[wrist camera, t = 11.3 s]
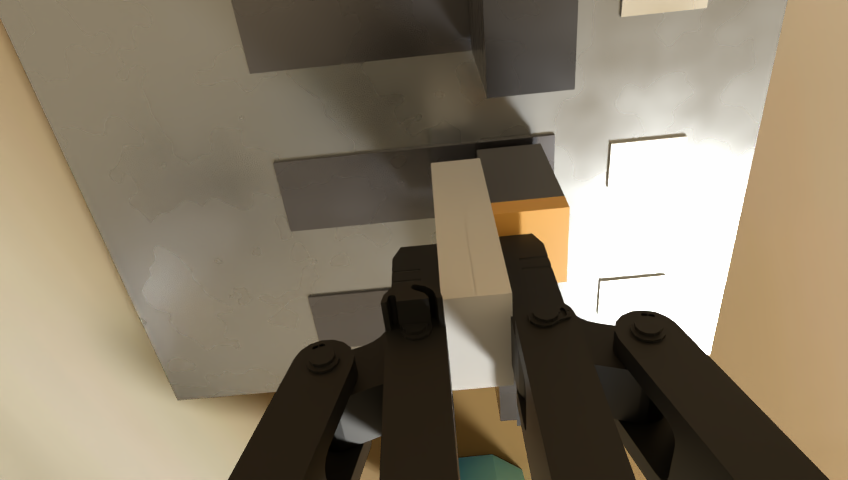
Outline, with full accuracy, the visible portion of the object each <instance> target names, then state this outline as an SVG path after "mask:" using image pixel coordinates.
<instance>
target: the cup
mask: <svg viewBox="0 0 848 480" xmlns="http://www.w3.org/2000/svg"><path fill="white" fill-rule="evenodd" d="M458 460H459V472H460V480H525V479H524V476H523V472H522V469H520V468H518V467H516V466H514V465H512V464H510V463H508V462H506V461H504V460H502V459H500V458H498V457H496V456H494V455H482V456H472V457H462V458H458Z"/></svg>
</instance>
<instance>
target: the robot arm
mask: <svg viewBox="0 0 848 480" xmlns="http://www.w3.org/2000/svg"><path fill="white" fill-rule="evenodd" d="M431 173H432V186H433V200H434V213H435V226H436V239H437V244H429V245H419V246H408V247H400V249H399V250H398V252H397V253H396V254H395V256H394V257H393V259H392V284H391V288H390V289H389V290H388V291H387V292H386V293H385V294H384V295H383V297H382V300H381V308H382V314H383V320H384V325H385V332H384V333H383V334H382V335H381V336H380V337H379V338H378V339H376V340H375V341H373V342H371V343H369V344H366V345H364V346H361V347H358V348H355V349H351V347H350V346H348V345H347V344H346V343H344V342H341V341H337V340H321V341H318V342H315V343H312V344H310V345H308V346H307V347H305V348H304V349H302V350H301V351H300V352H299V353H298V354H297V356H296V357H295V358H294V360H293V361H292V363H291V365H290V367H289V369H288V371H287V372H286V374H285V376H284V378H283V380H282V382H281V383H280V385H279V387H278V389H277V391H276V393H275V394H274V396H273V398H272V400H271V402H270V404H269V405H268V407H267V409H266V411H265V413H264V415H263V416H262V418H261V420H260V422H259V424H258V426H257V428H256V429H255V431H254V433H253V435H252V437H251V439H250V440H249V442H248V444H247V446H246V448H245V450H244V451H243V453H242V455H241V457H240V459H239V461H238V462H237V464H236V466H235V468H234V470H233V472H232V473H231V475H230V477H229V479H228V480H360V477H361V474H362V471H363V468H364V465H365V462H366V459H367V456H368V454H369V451H370V448H371V442H372V439H375V438H378V437H380V436H381V457H380V480H460V472H459V460H458V449H457V437H456V426H455V414H454V404H453V394H452V390H463V389H474V388H486V387H497V386H509V385H514V377H515V382H516V388H517V426H520V425H521V427H522V432H523V437H524V442H525V447H526V452H527V458H528V463H529V468H530V473H531V478H532V480H636V479H635V476H634V474H633V471H632V468H631V465H630V463H629V460H628V457H627V454H626V451H625V449H624V447H625V448H626V450H627V451H628V453H629V454H630V456H631V457H632V458H633V460H634V461H635V463H636V464H637V466H638V467H639V469H640V470H641V472H642V473H643V475H644V476H645V478H646V479H647V480H829V479H828V478H827V477H826V476H825V475H824V474H823V473H822V472H821V471H820V470H819V469H818V467H817V466H816V465H815V464H814V463H813V462H812V461H811V460H810V459H809V458H808V457H807V456H806V455H805V454H804V453H803V452H802V451H801V450H800V449H799V448H798V447H797V446H796V445H795V444H794V443H793V442H792V441H791V440H790V439H789V438H788V437H787V436H786V435H785V434H784V433H783V432H782V431H781V430H780V429H779V428H778V427H777V425H776V424H775V423H774V422H773V421H772V420H771V419H770V418H769V417H768V416H767V415H766V414H765V413H764V412H763V411H762V410H761V409H760V408H759V407H758V406H757V405H756V404H755V403H754V402H753V401H752V400H751V399H750V398H749V397H748V396H747V395H746V394H745V393H744V392H743V391H742V390H741V389H740V388H739V387H738V386H737V385H736V383H735V382H734V381H733V380H732V379H731V378H730V377H729V376H728V375H727V374H726V373H725V372H724V371H723V370H722V369H721V368H720V367H719V366H718V365H717V364H716V363H715V362H714V361H713V360H712V359H711V358H710V357H709V356H708V355H707V354H706V353H705V352H704V351H703V350H702V349H701V348H700V347H699V346H698V345H697V344H696V342H695V341H694V340H693V339H692V338H691V337H690V336H689V335H688V334H687V333H686V332H685V331H684V330H683V329H682V328H681V327H680V326H679V325H678V324H677V323H676V322H674V321H673V320H672V319H670V318H669V317H668V316H666V315H663V314H660V313H658V312H655V311H647V310H637V311H630V312H628V313H626V314H623V315H621V316H620V317H619V318H618V320H617V321H616V322H615V325H609V324H601V323H595V322H591V321H587V320H585V319H582V318H580V317H578V316H576V314H575V312H574V311H573V310H572V308H571V307H570V306H568V305H567V304H565V303H564V300H563V297H562V295H561V292H560V289H559V286H558V283H557V280H556V277H555V275H554V272H553V269H552V268H551V263H550V260H549V258H548V255H547V252H546V249H545V246H544V243H543V242H541V241H540V240H539V239H538V238H537V237H536V236H534V235H533V234H532V233H531V234H521V235H510V236H500V237H499V236H498V232H497V228H496V223H495V219H494V215H493V211H492V207H491V202H490V198H489V194H488V190H487V186H486V181H485V177H484V173H483V169H482V165H481V161H480V158H476V159H466V160H456V161H446V162H436V163H431ZM623 445H624V446H623Z"/></svg>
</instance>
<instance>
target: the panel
mask: <svg viewBox="0 0 848 480" xmlns="http://www.w3.org/2000/svg"><path fill="white" fill-rule="evenodd" d="M786 5H787V0H0V18H1V20H2V23H3V25H4V27H5V29H6V31H7V33H8V36H9V38H10V40H11V42H12V44H13V46H14V49H15V51H16V53H17V55H18V57H19V59H20V61H21V64H22V66H23V68H24V70H25V72H26V74H27V77H28V79H29V81H30V83H31V85H32V87H33V89H34V92H35V94H36V96H37V98H38V100H39V102H40V105H41V107H42V109H43V111H44V113H45V115H46V117H47V120H48V122H49V124H50V126H51V128H52V130H53V133H54V135H55V137H56V139H57V141H58V143H59V146H60V148H61V150H62V152H63V154H64V156H65V158H66V161H67V163H68V165H69V167H70V169H71V171H72V174H73V176H74V178H75V180H76V182H77V184H78V186H79V189H80V191H81V193H82V195H83V197H84V199H85V202H86V204H87V206H88V208H89V210H90V212H91V214H92V217H93V219H94V221H95V223H96V225H97V227H98V230H99V232H100V234H101V236H102V238H103V240H104V242H105V245H106V247H107V249H108V251H109V253H110V255H111V258H112V260H113V262H114V264H115V266H116V268H117V271H118V273H119V275H120V277H121V279H122V281H123V283H124V286H125V288H126V290H127V292H128V294H129V296H130V299H131V301H132V303H133V305H134V307H135V309H136V311H137V314H138V316H139V318H140V320H141V322H142V324H143V327H144V329H145V331H146V333H147V335H148V337H149V339H150V342H151V344H152V346H153V348H154V350H155V352H156V355H157V357H158V359H159V361H160V363H161V365H162V368H163V370H164V372H165V374H166V376H167V378H168V380H169V383H170V385H171V387H172V389H173V391H174V393H175V396H176V398H177V400H187V399H199V398H210V397H222V396H233V395H245V394H256V393H268V392H276V391H277V389H278V387H279V385H280V383H281V382H282V380H283V378H284V376H285V374H286V372H287V371H288V369H289V367H290V365H291V363H292V361H293V360H294V358H295V357H296V356H297V354H298V353H299V352H300V351H301V350H302V349H304V348H305V347H307V346H308V345H310V344H312V343H315V342H318V341H321V340H337V341H341V342H344V343H346V344H347V345H348V346H350V347H351V349H355V348H358V347H361V346H364V345H366V344H369V343H371V342H373V341H375V340H376V339H378V338H379V337H380V336H381V335H382V334H383V333H384V332H385V325H384V320H383V314H382V308H381V300H382V297H383V295H384V294H385V293H386V292H387V291H388V290H389V289H390V288H391V284H392V259H393V257H394V256H395V254H396V253H397V252H398V250H399V249H400V247H408V246H419V245H429V244H437V239H436V226H435V213H434V200H433V186H432V173H431V163H436V162H446V161H456V160H466V159H476V158H477V150H480V149H490V148H501V147H511V146H521V145H531V144H541V145H542V148H543V150H544V152H545V154H546V156H547V159H548V161H549V163H550V165H551V167H552V169H553V172H554V174H555V176H556V178H557V180H558V183H559V185H560V187H561V189H562V191H563V193H564V196H565V198H566V200H567V202H568V204H569V206H570V215H569V240H568V265H567V282H560V283H558V286H559V289H560V292H561V295H562V297H563V300H564V303H565V304H567V305H568V306H570V307H571V308H572V310H573V311H574V312H575V314H576V316H578V317H580V318H582V319H585V320H587V321H591V322H595V323H601V324H609V325H615V322H616V321H617V320H618V318H619V317H620V316H621V315H623V314H626V313H628V312H630V311H637V310H647V311H655V312H658V313H660V314H663V315H666V316H668V317H669V318H670V319H672V320H673V321H674V322H676V323H677V324H678V325H679V326H680V327H681V328H682V329H683V330H684V331H685V332H686V333H687V334H688V335H689V336H690V337H691V338H692V339H693V340H694V341H695V342H696V344H697V345H698V346H699V347H700V348H701V349H702V350H703V351H704V352H705V353H706V354H710V350H711V345H712V341H713V336H714V332H715V327H716V323H717V318H718V314H719V309H720V305H721V300H722V295H723V291H724V286H725V282H726V277H727V273H728V268H729V264H730V259H731V255H732V250H733V245H734V241H735V236H736V232H737V227H738V223H739V218H740V214H741V209H742V205H743V200H744V195H745V191H746V186H747V182H748V177H749V173H750V168H751V164H752V159H753V155H754V150H755V145H756V141H757V136H758V132H759V127H760V123H761V118H762V114H763V109H764V105H765V100H766V95H767V91H768V86H769V82H770V77H771V73H772V68H773V64H774V59H775V55H776V50H777V46H778V41H779V36H780V32H781V27H782V23H783V18H784V14H785V9H786ZM495 390H496V396H497V402H498V408H499V414H500V420H501V421H506V420H517V388H516V382H515V377H514V385H509V386H497V387H495Z"/></svg>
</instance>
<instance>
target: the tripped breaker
mask: <svg viewBox="0 0 848 480" xmlns="http://www.w3.org/2000/svg"><path fill="white" fill-rule="evenodd" d="M477 158H480V161H481V165H482V169H483V173H484V177H485V181H486V186H487V190H488V194H489V198H490V202H491V207H492V211H493V215H494V219H495V223H496V228H497V232H498V236H499V237H500V236H510V235H521V234H531V233H532V234H533V235H534V236H536V237H537V238H538V239H539V240H540V241H541V242H543V243H544V246H545V249H546V252H547V255H548V258H549V260H550V263H551V268H552V269H553V272H554V275H555V277H556V280H557V283H560V282H567V265H568V240H569V215H570V206H569V204H568V202H567V200H566V198H565V196H564V193H563V191H562V189H561V187H560V185H559V183H558V180H557V178H556V176H555V174H554V172H553V169H552V167H551V165H550V163H549V161H548V159H547V156H546V154H545V152H544V150H543V148H542V145H541V144H531V145H521V146H511V147H501V148H490V149H480V150H477Z"/></svg>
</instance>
